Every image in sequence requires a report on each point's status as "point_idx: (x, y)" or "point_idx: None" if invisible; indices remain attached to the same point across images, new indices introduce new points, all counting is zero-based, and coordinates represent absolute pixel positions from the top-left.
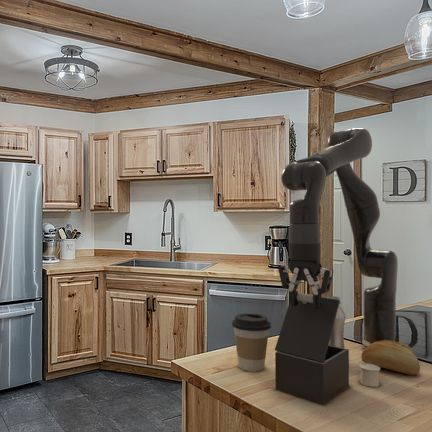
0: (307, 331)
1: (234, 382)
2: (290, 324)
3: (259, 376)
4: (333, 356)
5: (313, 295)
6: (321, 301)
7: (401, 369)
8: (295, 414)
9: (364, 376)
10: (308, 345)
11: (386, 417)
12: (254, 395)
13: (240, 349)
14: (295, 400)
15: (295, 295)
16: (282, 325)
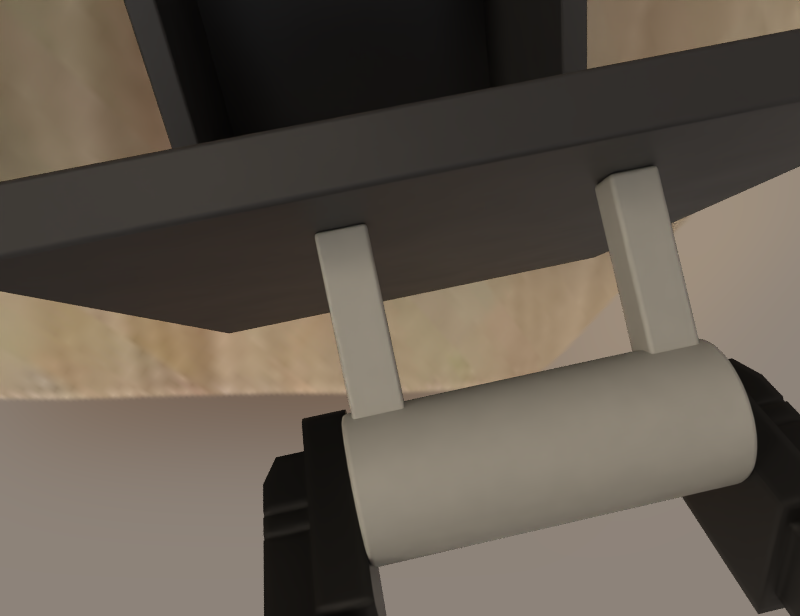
0: (461, 263)
1: (39, 312)
2: (255, 301)
3: (17, 126)
4: (568, 22)
5: (766, 604)
6: (796, 412)
7: None
8: (471, 320)
9: None
10: (486, 271)
11: (775, 5)
12: (233, 333)
13: None
14: None
15: (382, 602)
16: (173, 321)
